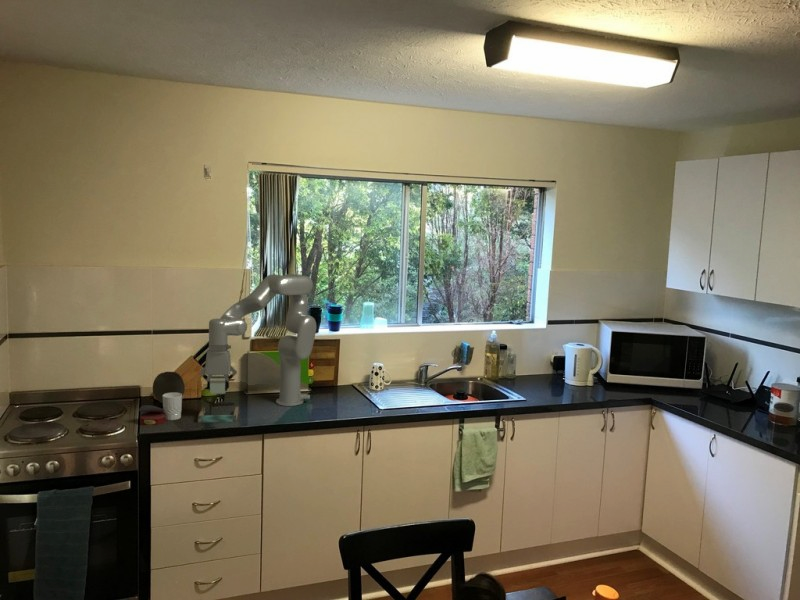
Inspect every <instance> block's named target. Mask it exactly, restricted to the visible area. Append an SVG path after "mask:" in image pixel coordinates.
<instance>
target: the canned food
mask: <svg viewBox="0 0 800 600" xmlns="http://www.w3.org/2000/svg"><path fill="white" fill-rule="evenodd" d="M138 410H139V412H142V414H140V416H139V423H140V425H141V424H142V426H145V425H147V426H148V425H154V426H159V425H158V424H160V425H162V423H163V424H165V423H166V419H165V413H164V411H165V410H164V409H163V407H162V408H161V407H158V406H155V405H150V404H145V405H142V406H140V408H139V409H138ZM147 426H146V427H147ZM148 427H149V426H148Z"/></svg>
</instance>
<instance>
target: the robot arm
mask: <svg viewBox="0 0 800 600" xmlns="http://www.w3.org/2000/svg"><path fill="white" fill-rule="evenodd" d="M313 287H314V283H313V279H311V278H310V277H309V276H307V275H302V274H297V273H287V274H285V275H280V274H268V275H267V276H266V277H265V278H264V279H263V280H262V281H261V282H260V283H259V284H258V285H256V287H255V288H254V290H252V292H251V293H250V294H249V295H247V296H246V297H244V298H242V299H240V300H239V301H237V302H236V303H234V304H232V305H231V306H230V307H229V308H228V309H227V310H225V312H224V313H222V316H220V318H212V319H210V320H209V322H208V350H207V351H206V356H205V357H206V358H205V366H204V367H203V368H201V370H200V371H199V373H198V374H199V376H201V377H202V378H203V379H204V380H205V381H206V389H208V392H210V379H211V376H225V379H226V381H225V392H228V389H230V388H229V387H230V380H231V379H232V378H234V377H235V376H236V375H237V374H238V373H237V370H236V369H235V368H234V367H232V361H231V353H230V349H232V345H229V343H228V336H236V337H237V336H242V335H243V334H245V333H246V332H247V331H248V323H247V322H246V321H245V320H244V319H243V318H244V317H245V316H247V315H250V314H252V313H255V312H259V311H261V310H263V309H265V308H266V306H268V304H269V303H270V302H271V301H272V300H273V299H274V297H275V296H276V295H280V296H288V299H289V303H288V304H289V305H288V310H287V313H286V320H285V329H286V330H287V331H288V332H290V333H293V334H295V335H296V336H295V335H291V334H290V335H289V334H288V335H287V334H286V335H284V336H281V338H280V339H279V340H278V343H277V351H278V355H279V356H278V357H279V398H277V399H275V403H276V404H278V405H280V406H286V407H292V406H293V407H294V406H295V407H296V406H298V405H302V404H303V403H304V400H310V399H311V394H308V393H302V391H301V374H302V373H301V372H302V371H301V369H302V366H301V364H302V363H301V360H306V359H308V358H309V356H310V355H311V353H312V352H313V348H314V347H313V346H314V343H315V339H316V338H315V337H316V333H317V322H316V319H315V317H313V316H311V315H309V314H307V313H308V306H309V299H308V295H307V294H309V293H311V291H312V290H313ZM231 372H232V373H231ZM230 373H231V374H230Z"/></svg>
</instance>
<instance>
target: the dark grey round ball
mask: <svg viewBox="0 0 800 600" xmlns="http://www.w3.org/2000/svg"><path fill="white" fill-rule="evenodd" d="M185 388H186V387H185V382H184V380H183V378H182V376H181V375H180V373H178V372H175V371H163V372H161V373H159V374H157V376H155V378H154V380H153V383H152V392H153V395H154V397H155V398H156V400H157V401H158V402H159V403H161V404H162V405H163V398H162V395H163V394H166V393H173V392H176V393H181V394H182V397H183V396H184V394H185Z"/></svg>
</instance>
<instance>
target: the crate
mask: <svg viewBox="0 0 800 600" xmlns="http://www.w3.org/2000/svg"><path fill="white" fill-rule="evenodd" d="M225 381H226V379H225V376H224V375H212V376H211V378H210V391H209V394H211V395H212V394H213V395H215V394H221V395H222V394H226V391H225Z"/></svg>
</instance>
